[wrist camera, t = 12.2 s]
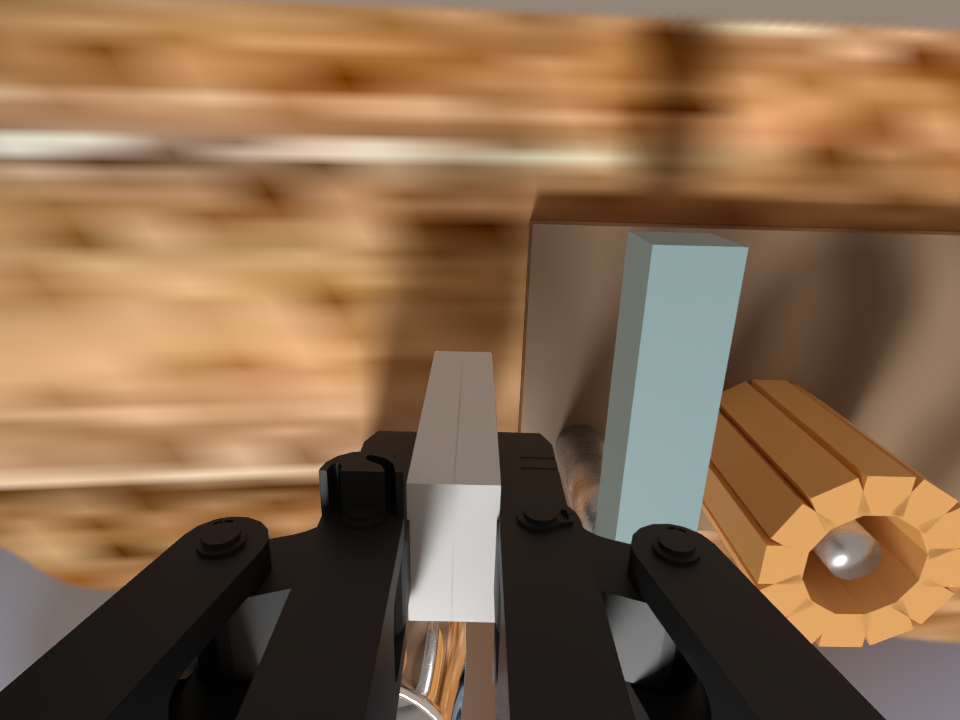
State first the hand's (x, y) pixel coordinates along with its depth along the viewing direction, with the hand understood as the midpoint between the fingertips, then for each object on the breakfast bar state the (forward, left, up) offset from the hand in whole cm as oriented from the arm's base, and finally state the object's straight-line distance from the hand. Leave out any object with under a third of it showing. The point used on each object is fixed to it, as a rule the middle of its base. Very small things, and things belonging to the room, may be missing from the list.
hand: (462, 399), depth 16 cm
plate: (+18, +5, -14) cm, 23 cm away
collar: (+17, +1, -12) cm, 21 cm away
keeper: (+6, +1, -3) cm, 7 cm away
